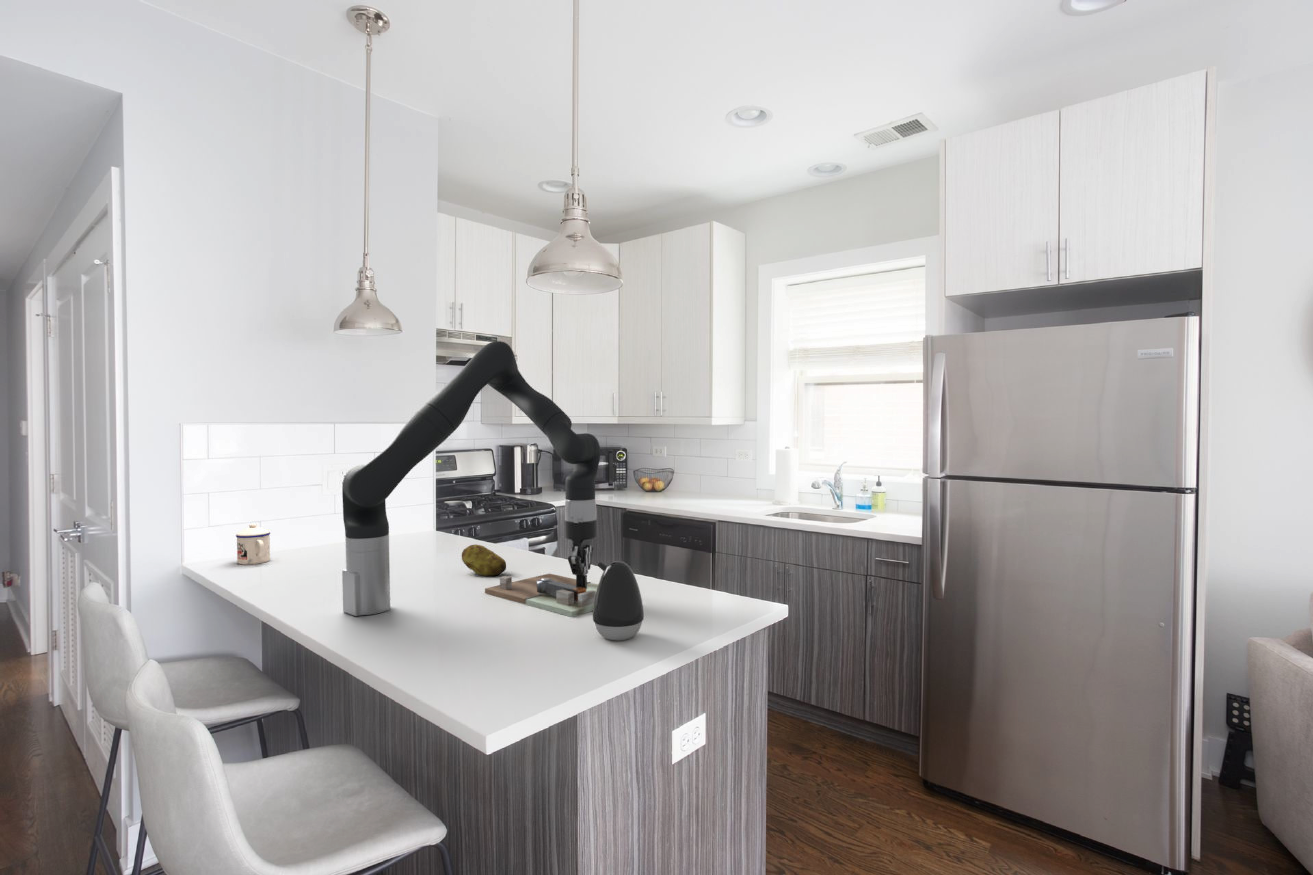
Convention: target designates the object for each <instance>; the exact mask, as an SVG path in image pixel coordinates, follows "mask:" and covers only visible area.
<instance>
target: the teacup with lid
mask: <svg viewBox="0 0 1313 875" xmlns="http://www.w3.org/2000/svg"><path fill="white" fill-rule="evenodd" d="M270 535H271V531H270V530H269V529H264V528H263V527H261V526H260V527H259V526H258V525H257V523H250V524H249V527H247V528H246V527H245V528H244V529H243V530H241V531H239V532H237V533H236V534H235V537H236V549H237V550H236V555H237V556H236V557H237V563H238V564H239V565H246V566H247V565H259V564H263V563H267V562H269V561H270V560H271V551H270V550H271V546H270V545H271V544H270Z"/></svg>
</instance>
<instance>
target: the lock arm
mask: <svg viewBox="0 0 1313 875" xmlns="http://www.w3.org/2000/svg"><path fill="white" fill-rule="evenodd" d="M562 589H563V590H567V591H571V592H574V601H578V594H580V593H584V592H586V588H583V587H578V586H574V585H569V584H565V583H561V582H557V581H553V579H548V578H543V579H539V580H537V592H538V593H547V594H551V595H555V596H556V591H558V590H562Z"/></svg>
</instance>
